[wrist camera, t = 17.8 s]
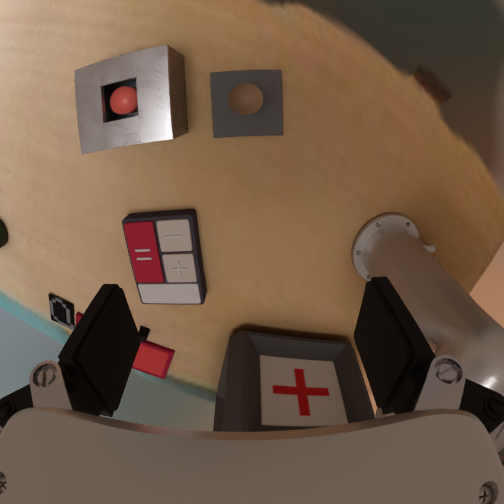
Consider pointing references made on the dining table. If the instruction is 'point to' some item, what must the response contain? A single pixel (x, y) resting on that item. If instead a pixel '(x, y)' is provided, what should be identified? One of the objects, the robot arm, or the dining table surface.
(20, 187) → the dining table surface
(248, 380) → the first aid kit
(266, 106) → the rest pad
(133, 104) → the red ball
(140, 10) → the dining table surface
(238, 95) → the brown cylinder
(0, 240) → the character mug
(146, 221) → the calculator
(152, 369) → the red board with handle
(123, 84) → the guard box
